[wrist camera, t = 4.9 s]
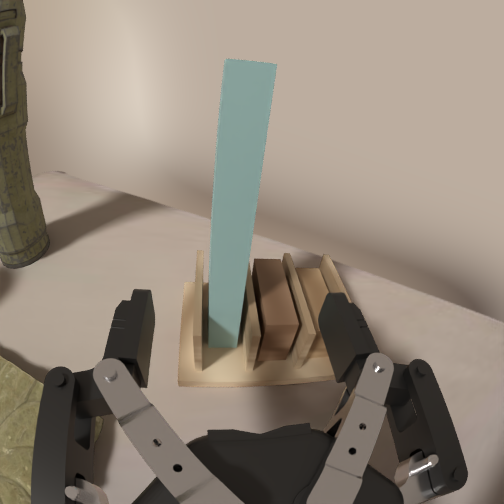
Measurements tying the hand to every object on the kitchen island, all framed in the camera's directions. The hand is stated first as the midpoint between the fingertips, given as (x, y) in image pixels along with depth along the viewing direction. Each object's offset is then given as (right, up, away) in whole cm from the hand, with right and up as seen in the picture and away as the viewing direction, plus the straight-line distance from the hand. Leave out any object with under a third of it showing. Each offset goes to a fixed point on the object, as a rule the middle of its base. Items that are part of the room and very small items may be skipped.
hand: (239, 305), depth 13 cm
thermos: (-32, +3, +20) cm, 38 cm away
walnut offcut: (+2, -5, +14) cm, 15 cm away
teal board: (-2, -5, +14) cm, 15 cm away
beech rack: (+2, -5, +15) cm, 16 cm away
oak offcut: (+6, -5, +15) cm, 17 cm away
